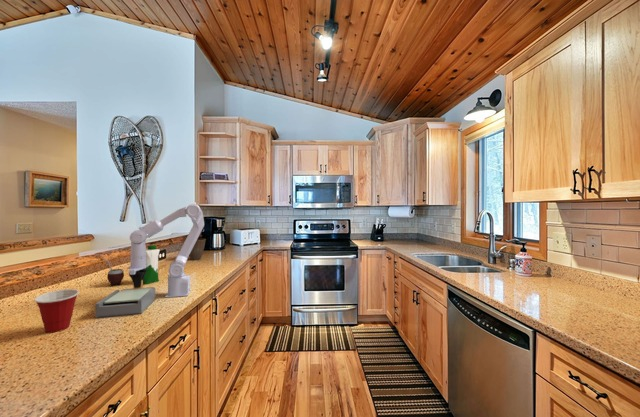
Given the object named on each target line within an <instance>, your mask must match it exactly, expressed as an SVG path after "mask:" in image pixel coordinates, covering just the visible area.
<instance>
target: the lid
mask: <svg viewBox="0 0 640 417" xmlns="http://www.w3.org/2000/svg"><path fill="white" fill-rule="evenodd" d="M143 285H144V284H143V280H142V281H141V286H140V287H139V288H134V285H132V286H133V287H132V288H123V289H121V290H120V292H118V293H117V294H115V295H114V296H112V297H111V298H109V299H108V300H106V301H105V302H104V304H106V303H118V302H131V301H138V300H139V299H140V298H141V297H142V296H144V295H145V294H146V293H147V292H148V291H149V290H150V289H151V288H155V287H154V286H148V287H147V286H146V287H145V286H144V287H143Z"/></svg>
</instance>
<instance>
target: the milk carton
mask: <svg viewBox="0 0 640 417" xmlns="http://www.w3.org/2000/svg"><path fill="white" fill-rule="evenodd" d="M160 251H161V250H160V249H159V248H157V245H156V244H154V245H153V244H151V245H147V248H146V268H144V269H147V272H146V274H145V276H144V279H143V285H149V284H154V283H156V282H159V255H160Z"/></svg>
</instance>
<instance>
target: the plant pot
mask: <svg viewBox="0 0 640 417" xmlns="http://www.w3.org/2000/svg"><path fill="white" fill-rule="evenodd" d="M206 240H207V239H206V238H198V239H197V241H196V243H195V244H194V246H193V248H192V250H191V252H190V254H189V256H188V258H189V260H190V261H199V260H201V259H202V256H203V253H204V251H205V250H204V249H205V245H206Z"/></svg>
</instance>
